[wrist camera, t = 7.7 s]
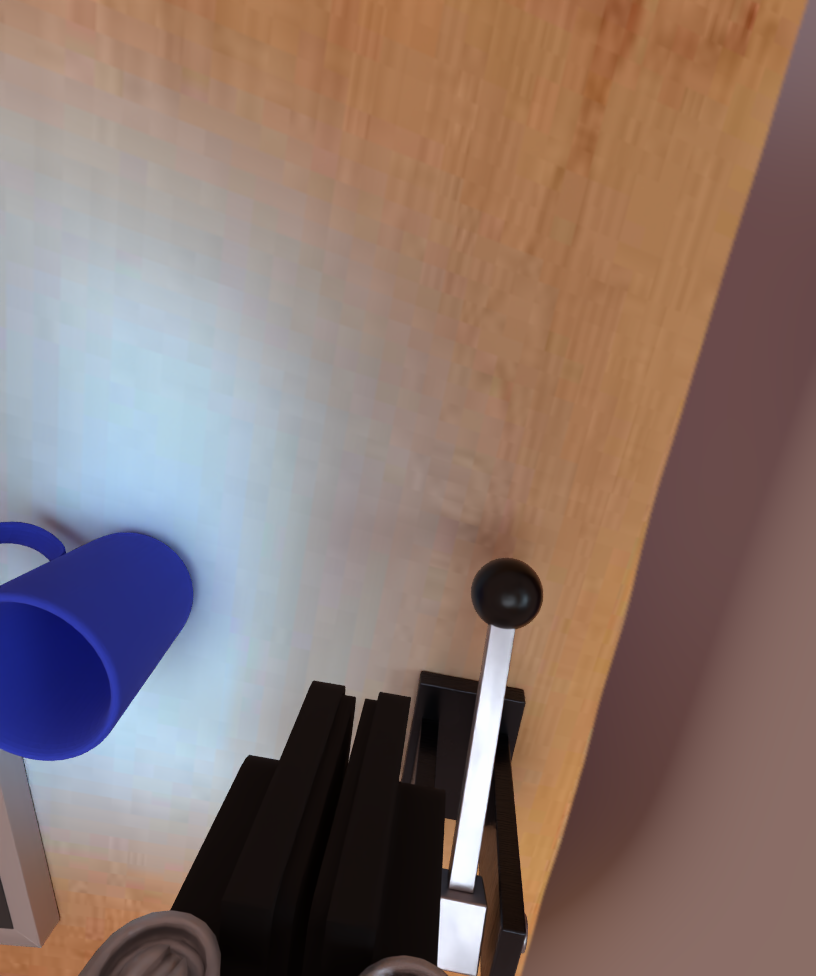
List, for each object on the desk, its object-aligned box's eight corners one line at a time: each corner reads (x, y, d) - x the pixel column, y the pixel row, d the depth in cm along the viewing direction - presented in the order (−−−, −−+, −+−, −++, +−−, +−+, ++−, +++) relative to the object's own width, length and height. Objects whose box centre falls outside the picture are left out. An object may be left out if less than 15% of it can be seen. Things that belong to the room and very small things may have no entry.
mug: (54, 444, 34) (-109, 500, 24) (238, 570, 35) (151, 670, 25) (-4, 554, 36) (-174, 645, 27) (170, 668, 37) (67, 794, 28)
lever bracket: (421, 670, 36) (396, 861, 24) (524, 689, 35) (552, 892, 23) (398, 794, 38) (365, 1022, 26) (494, 812, 38) (506, 1052, 26)
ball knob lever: (474, 551, 30) (480, 552, 26) (541, 563, 29) (555, 565, 26) (413, 922, 28) (411, 971, 25) (483, 937, 28) (490, 987, 25)
